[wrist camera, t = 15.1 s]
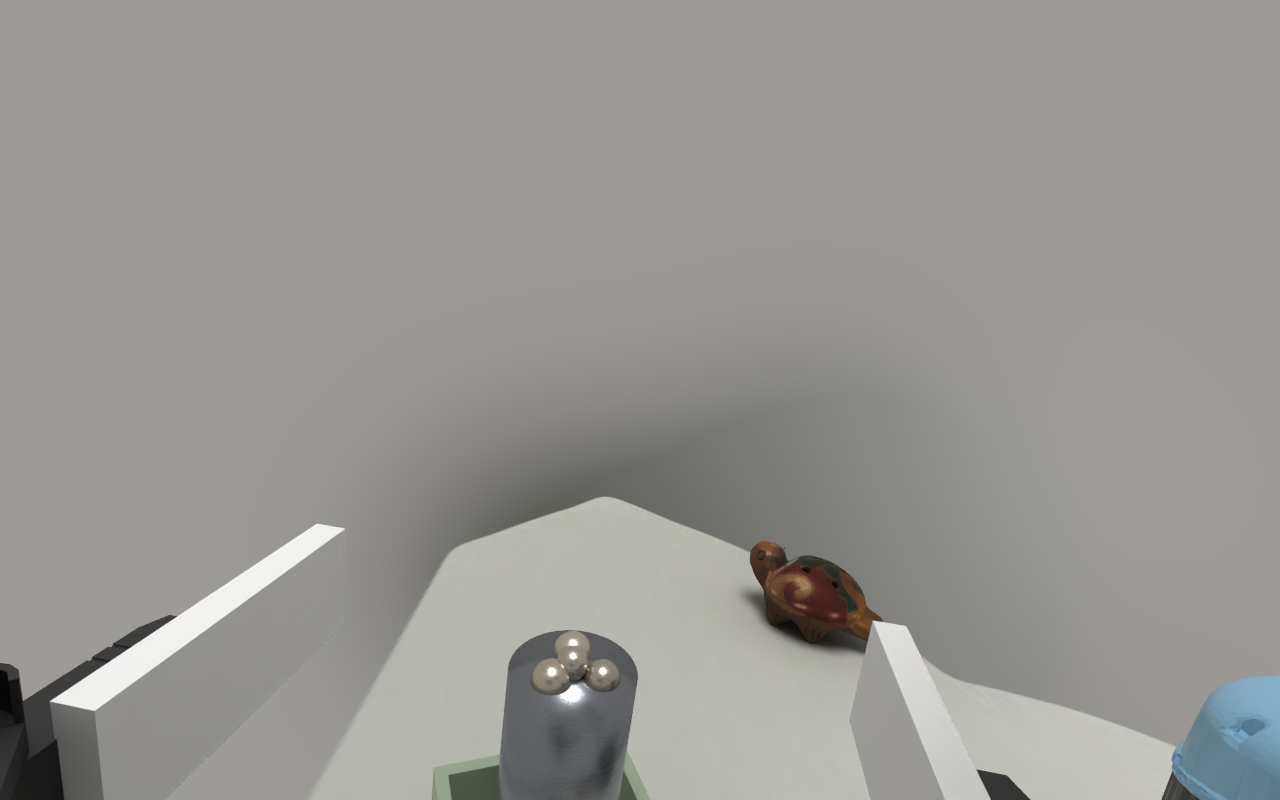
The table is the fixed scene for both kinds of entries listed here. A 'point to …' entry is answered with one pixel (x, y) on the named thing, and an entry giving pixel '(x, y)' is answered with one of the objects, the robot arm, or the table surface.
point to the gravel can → (566, 718)
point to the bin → (473, 784)
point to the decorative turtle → (810, 594)
